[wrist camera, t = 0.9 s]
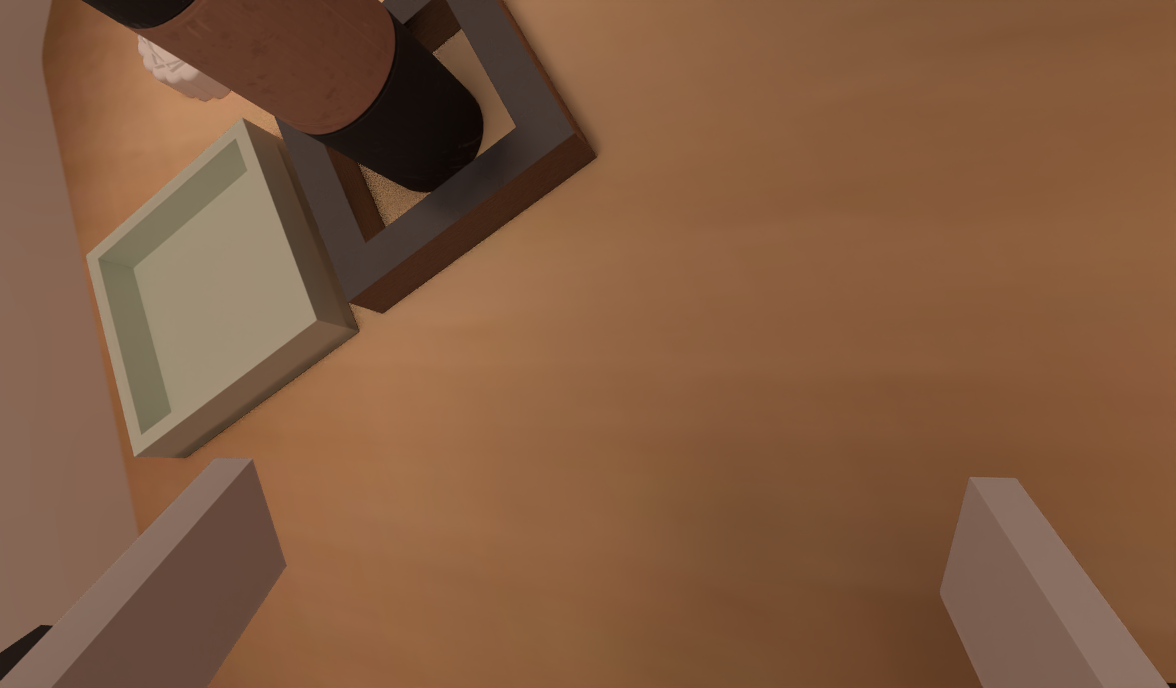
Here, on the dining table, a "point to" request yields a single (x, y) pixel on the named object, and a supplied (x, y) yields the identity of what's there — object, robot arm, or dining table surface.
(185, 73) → the mooncake
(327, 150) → the holder frame
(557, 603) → the dining table surface
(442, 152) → the travel mug
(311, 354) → the tray
